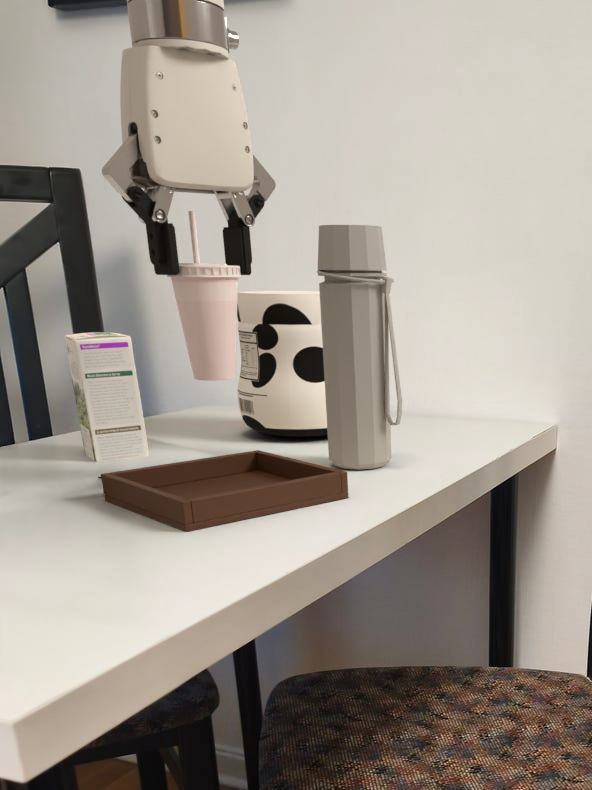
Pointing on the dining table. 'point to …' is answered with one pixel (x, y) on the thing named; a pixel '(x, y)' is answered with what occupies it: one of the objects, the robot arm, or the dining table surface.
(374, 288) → the water bottle
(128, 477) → the tray
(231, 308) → the smoothie
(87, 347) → the syrup box
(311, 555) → the dining table surface
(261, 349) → the milk container
